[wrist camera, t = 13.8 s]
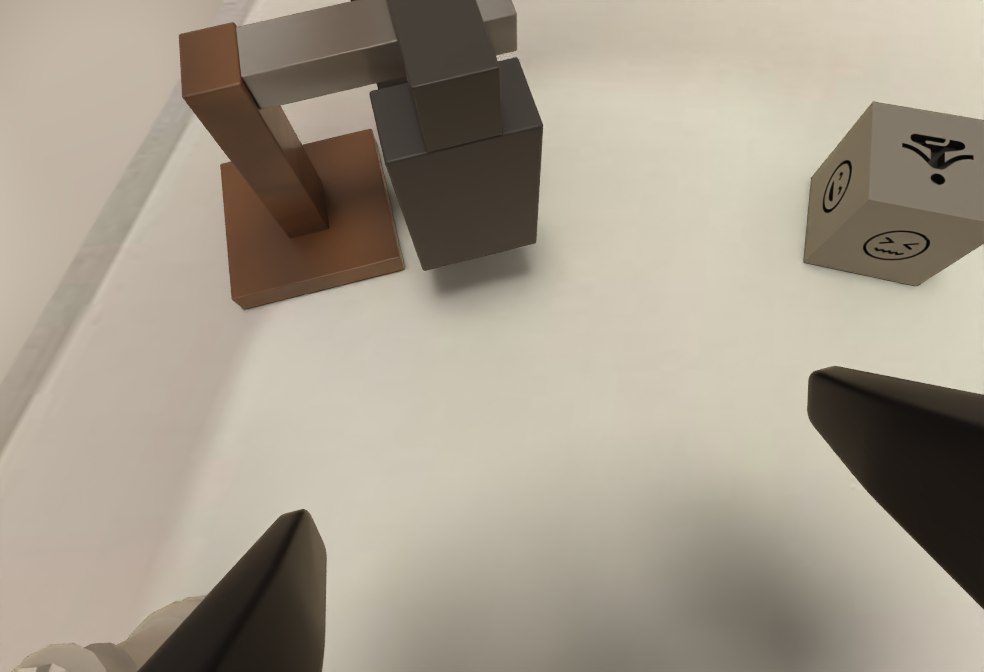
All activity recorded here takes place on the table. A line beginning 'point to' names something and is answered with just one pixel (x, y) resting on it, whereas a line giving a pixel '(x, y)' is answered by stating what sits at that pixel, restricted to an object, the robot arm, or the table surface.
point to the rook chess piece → (113, 646)
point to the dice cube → (899, 195)
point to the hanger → (303, 168)
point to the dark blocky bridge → (458, 135)
